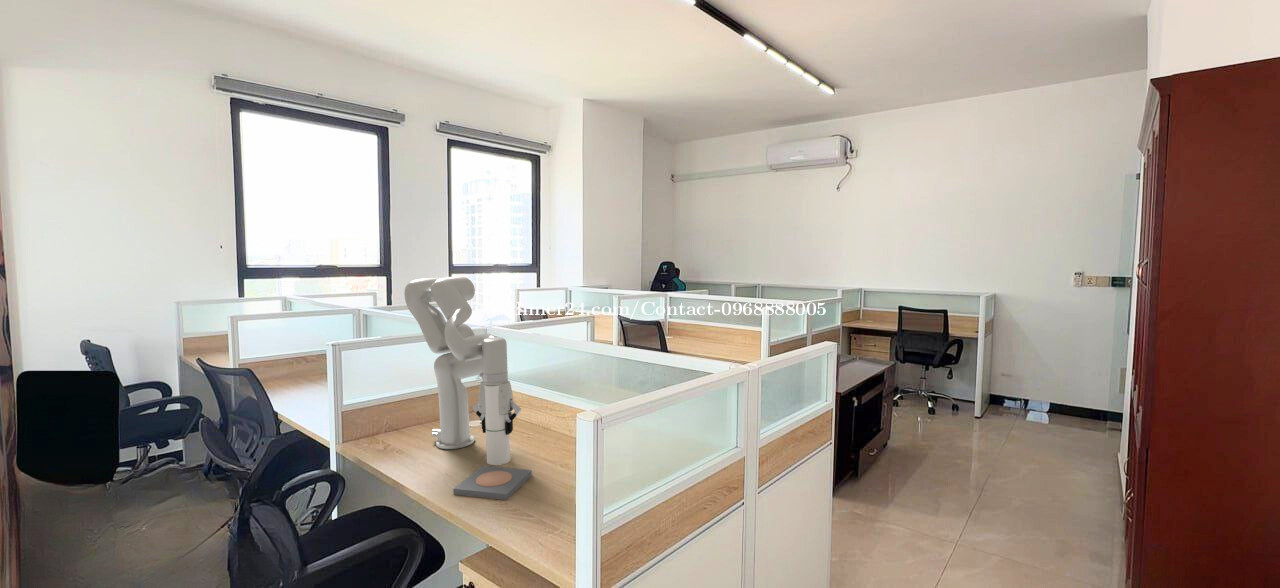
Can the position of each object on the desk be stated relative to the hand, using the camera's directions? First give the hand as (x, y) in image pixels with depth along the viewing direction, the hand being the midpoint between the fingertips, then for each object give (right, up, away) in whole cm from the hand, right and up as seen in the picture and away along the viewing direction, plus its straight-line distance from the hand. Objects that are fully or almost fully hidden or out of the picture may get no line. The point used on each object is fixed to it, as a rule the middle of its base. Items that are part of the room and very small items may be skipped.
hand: (497, 432), depth 174 cm
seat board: (+3, -11, -16) cm, 20 cm away
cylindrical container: (0, -10, +1) cm, 9 cm away
